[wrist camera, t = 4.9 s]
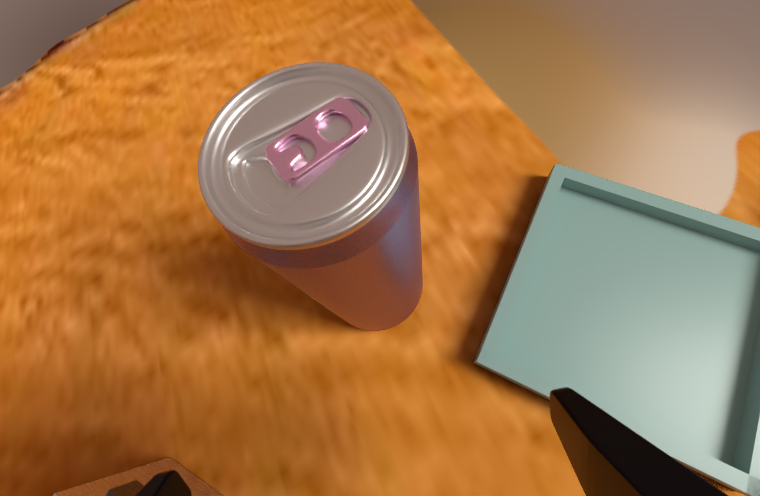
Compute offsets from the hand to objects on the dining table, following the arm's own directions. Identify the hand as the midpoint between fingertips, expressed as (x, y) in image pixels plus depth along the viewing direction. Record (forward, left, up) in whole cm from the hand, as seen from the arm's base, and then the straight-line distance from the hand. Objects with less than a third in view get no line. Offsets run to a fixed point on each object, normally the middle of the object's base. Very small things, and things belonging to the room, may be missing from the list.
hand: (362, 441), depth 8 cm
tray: (+11, -10, -13) cm, 19 cm away
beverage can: (+6, +4, -13) cm, 15 cm away
